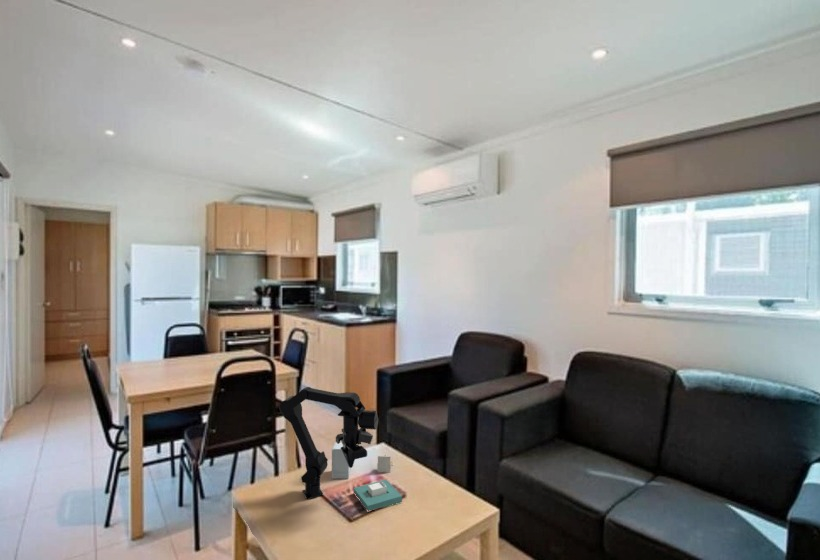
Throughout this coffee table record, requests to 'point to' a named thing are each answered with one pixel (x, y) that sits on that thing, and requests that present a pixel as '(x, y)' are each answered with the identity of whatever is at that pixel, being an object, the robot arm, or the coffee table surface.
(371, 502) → the socket board
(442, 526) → the coffee table surface
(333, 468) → the supplement box
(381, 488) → the plug
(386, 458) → the architectural model
